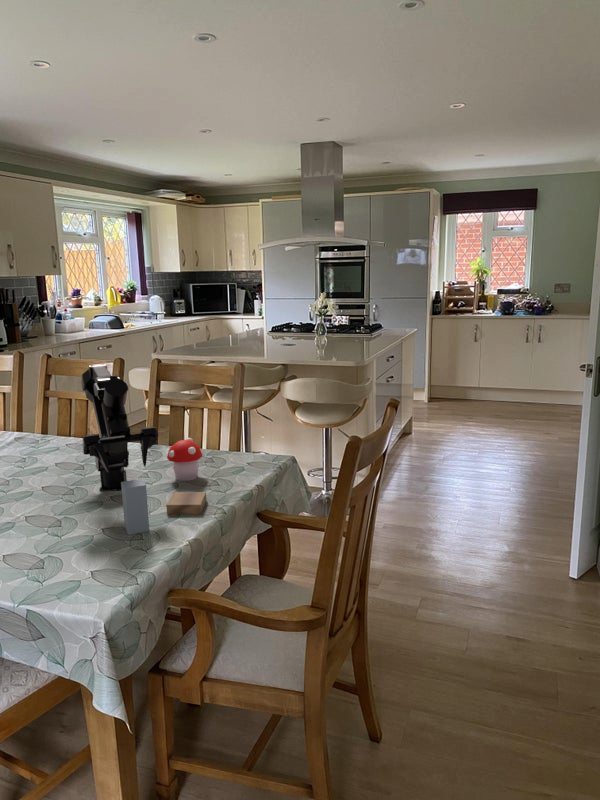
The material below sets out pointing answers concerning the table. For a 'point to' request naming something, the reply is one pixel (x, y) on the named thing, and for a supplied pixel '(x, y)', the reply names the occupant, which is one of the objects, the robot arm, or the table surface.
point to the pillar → (135, 506)
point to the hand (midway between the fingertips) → (126, 468)
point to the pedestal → (186, 503)
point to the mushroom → (185, 459)
